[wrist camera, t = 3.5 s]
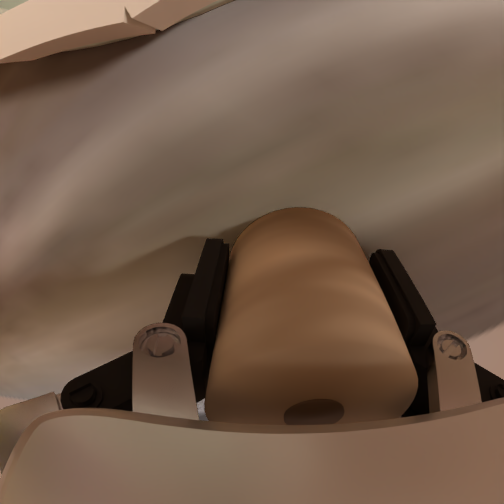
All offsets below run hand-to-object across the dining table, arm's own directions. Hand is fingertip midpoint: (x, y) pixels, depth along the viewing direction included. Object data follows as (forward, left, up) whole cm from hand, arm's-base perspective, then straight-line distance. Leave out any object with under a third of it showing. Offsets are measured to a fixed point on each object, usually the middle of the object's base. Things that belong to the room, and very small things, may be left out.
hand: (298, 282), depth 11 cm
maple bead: (0, 0, -1) cm, 1 cm away
